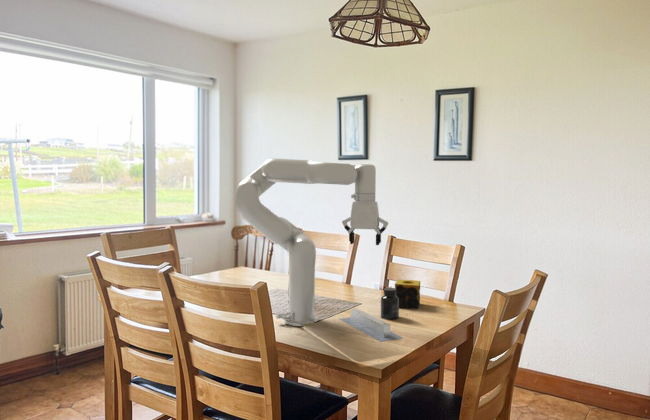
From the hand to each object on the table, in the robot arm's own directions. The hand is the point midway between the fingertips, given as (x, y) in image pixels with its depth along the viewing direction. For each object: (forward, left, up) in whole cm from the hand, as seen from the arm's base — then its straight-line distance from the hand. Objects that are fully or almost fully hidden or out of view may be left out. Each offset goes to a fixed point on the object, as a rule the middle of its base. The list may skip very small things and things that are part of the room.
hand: (364, 244), depth 193 cm
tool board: (-5, -12, -29) cm, 32 cm away
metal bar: (-5, -12, -28) cm, 30 cm away
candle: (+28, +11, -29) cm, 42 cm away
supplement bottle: (+9, -4, -29) cm, 31 cm away
